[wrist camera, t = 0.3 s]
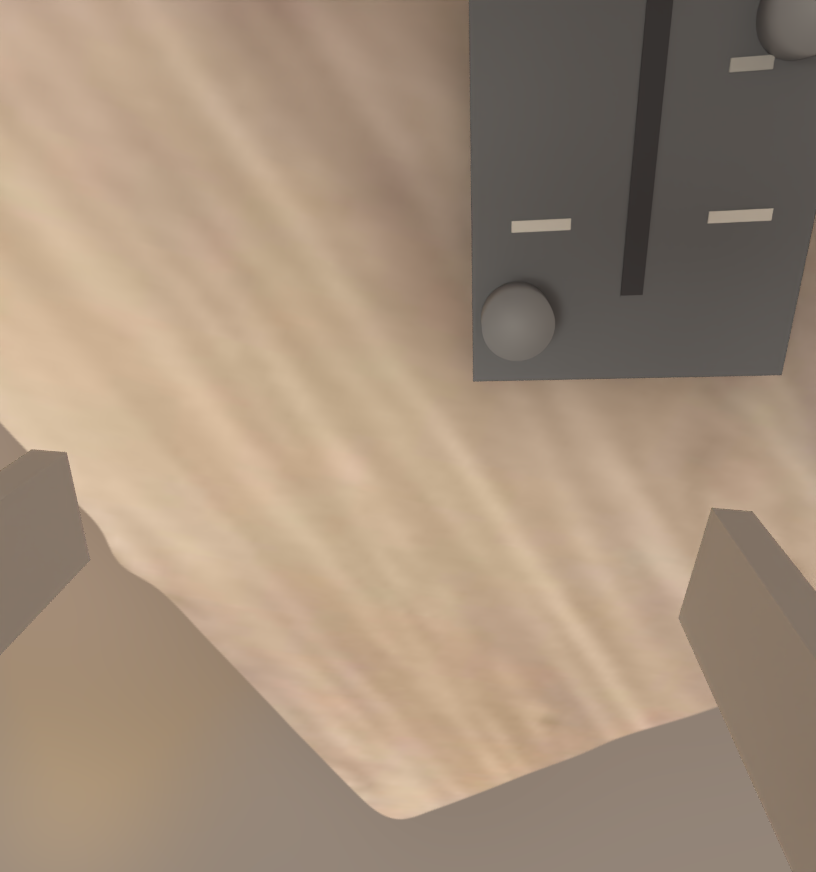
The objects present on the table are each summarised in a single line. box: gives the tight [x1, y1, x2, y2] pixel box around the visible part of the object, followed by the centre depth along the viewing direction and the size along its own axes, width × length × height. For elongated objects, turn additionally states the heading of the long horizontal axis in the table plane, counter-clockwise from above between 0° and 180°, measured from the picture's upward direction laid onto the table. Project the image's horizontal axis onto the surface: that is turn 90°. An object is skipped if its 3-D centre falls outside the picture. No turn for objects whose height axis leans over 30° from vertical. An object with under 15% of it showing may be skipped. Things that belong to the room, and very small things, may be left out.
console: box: [469, 0, 816, 381], centre depth 30 cm, size 30×18×4 cm, turn 3°
